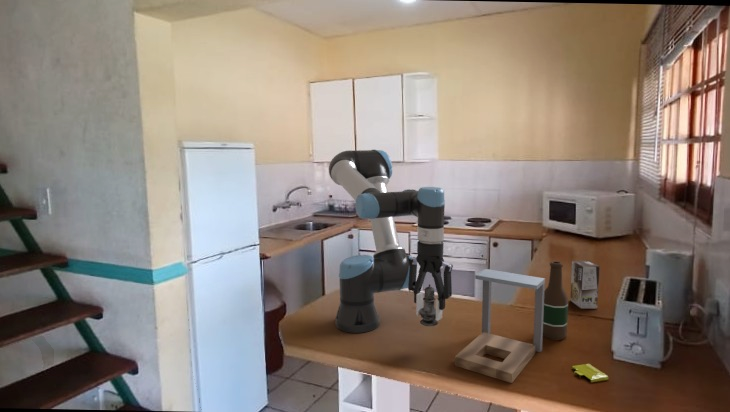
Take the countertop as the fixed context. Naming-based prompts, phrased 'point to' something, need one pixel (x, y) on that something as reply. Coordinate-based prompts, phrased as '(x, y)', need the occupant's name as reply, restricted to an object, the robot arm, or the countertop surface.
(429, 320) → the grey chess piece
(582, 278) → the coffee box
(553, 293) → the beer bottle
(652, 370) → the countertop surface
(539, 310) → the grey arch frame
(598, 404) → the countertop surface
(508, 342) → the socket
